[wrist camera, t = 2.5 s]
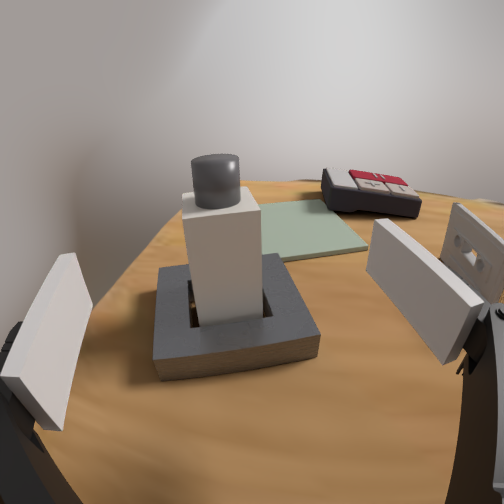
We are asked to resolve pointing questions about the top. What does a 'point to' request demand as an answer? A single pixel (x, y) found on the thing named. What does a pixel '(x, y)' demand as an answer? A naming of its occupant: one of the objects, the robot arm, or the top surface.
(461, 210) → the cassette
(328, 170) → the calculator
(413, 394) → the top surface
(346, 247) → the mat
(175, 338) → the socket
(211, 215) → the plug
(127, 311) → the top surface
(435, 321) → the robot arm
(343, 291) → the top surface
